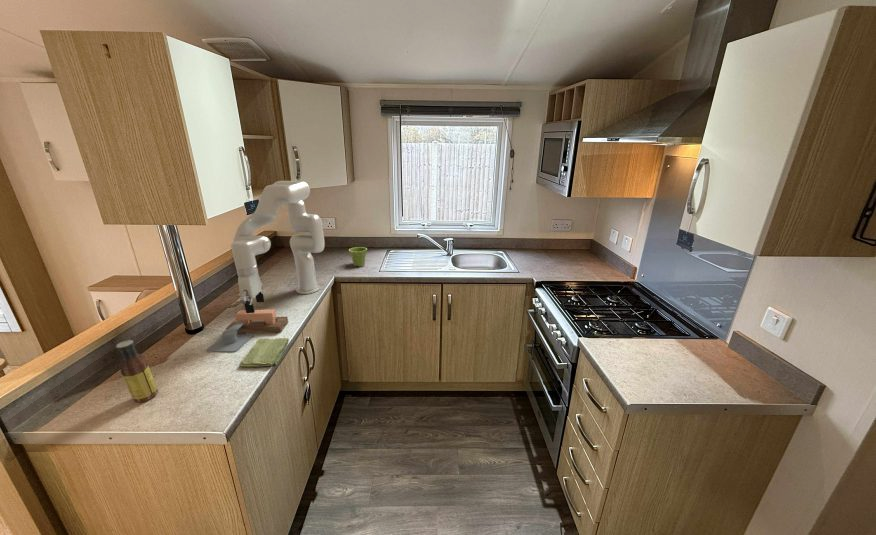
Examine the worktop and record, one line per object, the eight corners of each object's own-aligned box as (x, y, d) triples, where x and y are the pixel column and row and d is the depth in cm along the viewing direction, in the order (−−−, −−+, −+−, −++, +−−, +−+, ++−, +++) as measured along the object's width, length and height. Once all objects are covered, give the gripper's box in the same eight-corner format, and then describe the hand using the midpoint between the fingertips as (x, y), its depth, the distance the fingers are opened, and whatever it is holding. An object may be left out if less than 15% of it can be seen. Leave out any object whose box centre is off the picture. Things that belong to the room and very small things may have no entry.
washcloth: (237, 370, 119) (236, 362, 118) (259, 343, 136) (257, 336, 135) (275, 368, 120) (274, 361, 119) (292, 342, 137) (291, 335, 136)
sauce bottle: (149, 388, 110) (131, 335, 103) (163, 392, 108) (145, 338, 102) (127, 402, 104) (105, 346, 97) (141, 406, 102) (120, 350, 96)
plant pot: (371, 265, 226) (370, 249, 222) (357, 269, 218) (355, 253, 214) (361, 261, 234) (360, 245, 230) (346, 265, 225) (345, 249, 221)
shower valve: (255, 321, 142) (233, 341, 128) (257, 333, 144) (236, 353, 129) (227, 321, 142) (201, 340, 128) (229, 332, 144) (205, 352, 130)
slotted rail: (237, 324, 150) (236, 318, 149) (288, 322, 152) (287, 316, 151) (227, 334, 142) (225, 328, 141) (280, 332, 143) (279, 326, 142)
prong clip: (243, 326, 148) (239, 310, 145) (278, 325, 149) (275, 309, 146) (239, 330, 145) (235, 314, 142) (275, 329, 146) (271, 313, 143)
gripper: (247, 263, 146) (255, 298, 152) (227, 278, 130) (237, 317, 136) (265, 262, 146) (272, 298, 152) (247, 278, 130) (256, 316, 136)
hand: (255, 307), depth 144 cm, fingers open, 9 cm apart
